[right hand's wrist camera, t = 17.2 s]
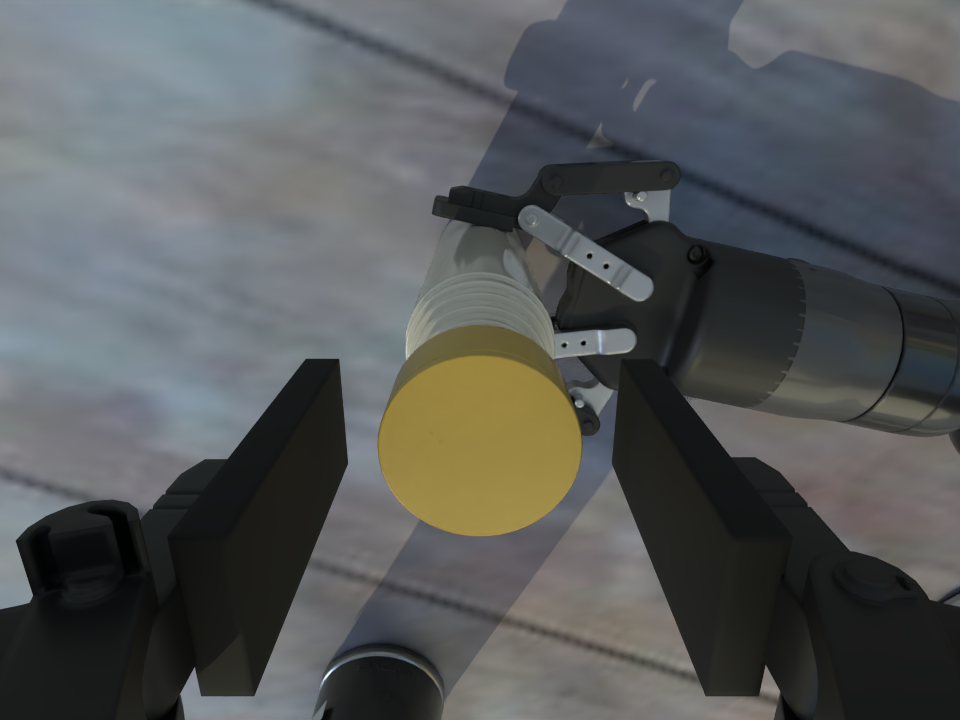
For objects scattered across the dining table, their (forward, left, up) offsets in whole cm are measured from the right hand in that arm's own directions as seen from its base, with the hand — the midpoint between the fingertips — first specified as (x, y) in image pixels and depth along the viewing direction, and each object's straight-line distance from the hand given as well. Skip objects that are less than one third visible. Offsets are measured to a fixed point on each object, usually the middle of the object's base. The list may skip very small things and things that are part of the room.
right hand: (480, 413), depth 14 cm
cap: (0, 0, +2) cm, 2 cm away
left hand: (-1, -2, -16) cm, 16 cm away
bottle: (0, 0, -22) cm, 22 cm away
